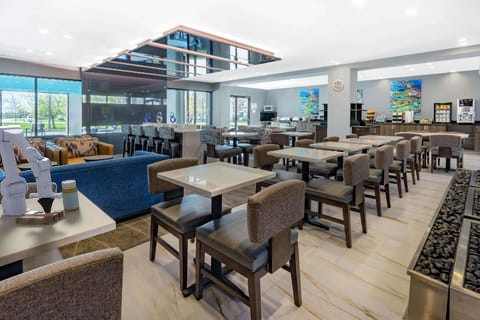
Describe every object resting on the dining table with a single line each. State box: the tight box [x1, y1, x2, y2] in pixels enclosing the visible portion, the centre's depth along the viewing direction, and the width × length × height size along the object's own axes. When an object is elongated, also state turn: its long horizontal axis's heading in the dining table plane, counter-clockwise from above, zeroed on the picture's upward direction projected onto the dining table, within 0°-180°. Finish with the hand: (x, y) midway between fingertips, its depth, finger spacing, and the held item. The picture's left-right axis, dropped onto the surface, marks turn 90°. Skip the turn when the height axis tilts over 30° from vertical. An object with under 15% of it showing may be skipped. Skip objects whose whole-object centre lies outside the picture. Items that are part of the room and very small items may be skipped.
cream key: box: [24, 211, 39, 216], centre depth 133 cm, size 4×4×3 cm
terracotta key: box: [41, 211, 55, 216], centre depth 133 cm, size 4×4×3 cm
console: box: [14, 209, 65, 226], centre depth 133 cm, size 16×10×3 cm, turn 87°
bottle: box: [61, 179, 80, 212], centre depth 145 cm, size 7×7×15 cm
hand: (48, 212), depth 133 cm, fingers closed, pressing on terracotta key
